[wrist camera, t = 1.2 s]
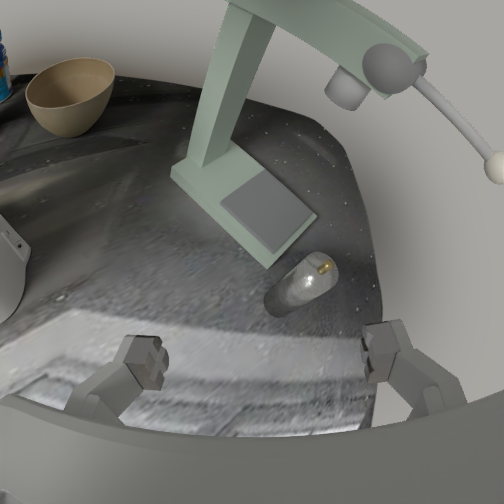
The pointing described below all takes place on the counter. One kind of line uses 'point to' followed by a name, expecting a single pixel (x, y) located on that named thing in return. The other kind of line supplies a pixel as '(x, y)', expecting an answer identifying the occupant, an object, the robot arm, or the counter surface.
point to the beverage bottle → (4, 75)
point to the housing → (302, 284)
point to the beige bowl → (70, 95)
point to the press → (338, 90)
